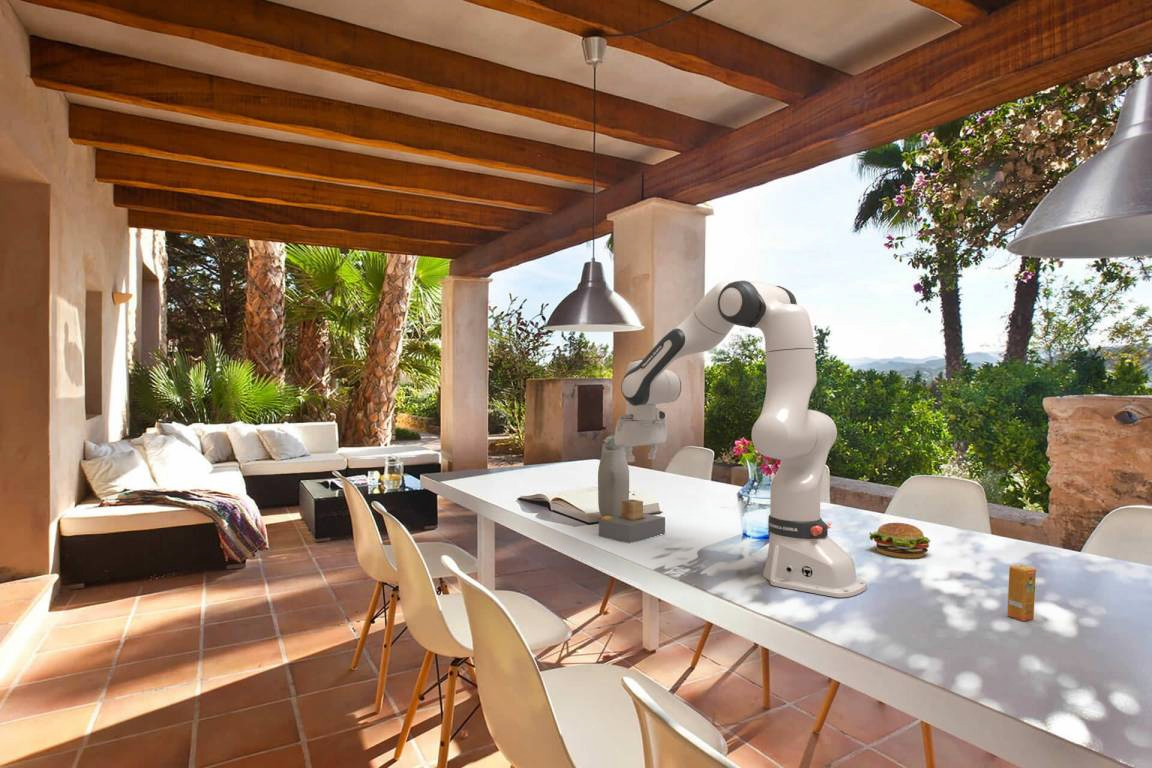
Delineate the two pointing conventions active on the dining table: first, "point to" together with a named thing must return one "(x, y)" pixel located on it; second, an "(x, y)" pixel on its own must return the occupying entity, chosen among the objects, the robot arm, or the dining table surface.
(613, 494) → the gray bottle
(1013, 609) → the supplement box
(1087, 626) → the dining table surface
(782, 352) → the robot arm
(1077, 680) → the dining table surface
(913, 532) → the food
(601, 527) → the socket block
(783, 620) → the dining table surface
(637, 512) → the oak peg
